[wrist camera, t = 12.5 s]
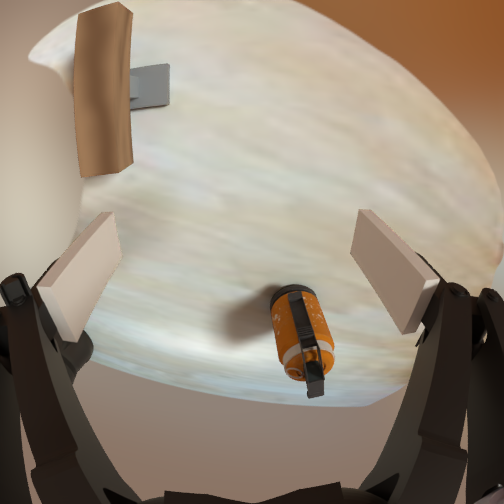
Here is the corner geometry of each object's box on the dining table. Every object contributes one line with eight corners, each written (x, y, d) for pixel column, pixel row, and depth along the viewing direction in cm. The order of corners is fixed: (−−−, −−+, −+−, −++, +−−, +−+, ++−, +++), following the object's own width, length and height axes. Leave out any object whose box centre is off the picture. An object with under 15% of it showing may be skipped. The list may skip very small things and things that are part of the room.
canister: (273, 322, 54) (288, 410, 37) (264, 279, 49) (279, 373, 31) (317, 313, 54) (345, 397, 37) (313, 268, 48) (350, 357, 31)
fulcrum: (94, 115, 32) (71, 119, 27) (93, 78, 29) (70, 77, 24) (169, 104, 33) (157, 104, 27) (169, 64, 30) (157, 57, 24)
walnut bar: (98, 166, 30) (81, 177, 26) (96, 22, 20) (78, 14, 16) (133, 162, 31) (118, 172, 26) (132, 13, 21) (118, 1, 16)
